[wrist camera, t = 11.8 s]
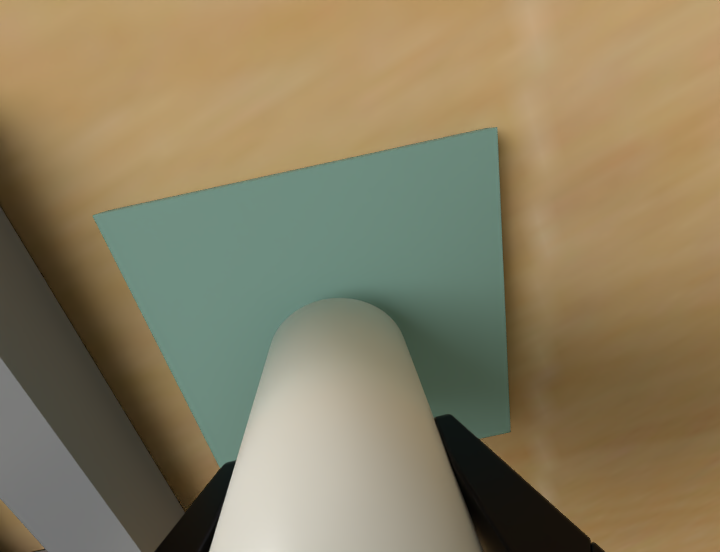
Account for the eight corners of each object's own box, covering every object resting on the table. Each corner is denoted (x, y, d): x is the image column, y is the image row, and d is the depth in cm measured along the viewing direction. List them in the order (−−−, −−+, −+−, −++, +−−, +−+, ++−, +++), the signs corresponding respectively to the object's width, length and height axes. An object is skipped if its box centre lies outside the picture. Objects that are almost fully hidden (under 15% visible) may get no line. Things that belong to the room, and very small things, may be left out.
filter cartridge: (422, 402, 12) (628, 981, 4) (285, 432, 12) (185, 1080, 4) (401, 275, 10) (714, 859, 2) (239, 310, 10) (-167, 1054, 2)
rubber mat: (501, 417, 15) (510, 432, 14) (237, 475, 15) (232, 492, 14) (485, 128, 11) (497, 127, 10) (109, 210, 11) (91, 215, 10)
